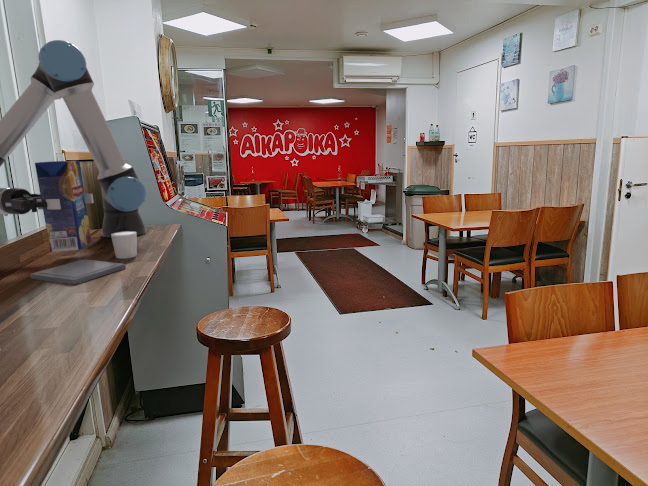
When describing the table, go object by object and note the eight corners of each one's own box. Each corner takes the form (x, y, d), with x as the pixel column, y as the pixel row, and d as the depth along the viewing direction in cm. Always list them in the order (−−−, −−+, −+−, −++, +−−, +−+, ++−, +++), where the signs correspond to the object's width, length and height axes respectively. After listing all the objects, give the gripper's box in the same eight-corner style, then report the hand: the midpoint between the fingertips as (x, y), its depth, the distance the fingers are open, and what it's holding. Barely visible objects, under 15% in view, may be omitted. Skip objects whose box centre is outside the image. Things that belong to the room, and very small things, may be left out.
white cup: (121, 260, 121) (118, 236, 119) (109, 256, 125) (106, 233, 123) (143, 255, 126) (141, 232, 125) (131, 252, 130) (129, 230, 129)
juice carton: (80, 249, 117) (66, 161, 112) (50, 252, 115) (34, 162, 110) (91, 240, 129) (79, 160, 123) (64, 242, 127) (50, 161, 121)
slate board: (84, 263, 118) (83, 259, 117) (125, 268, 112) (125, 263, 112) (30, 278, 104) (30, 273, 104) (74, 284, 99) (73, 279, 98)
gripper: (47, 208, 135) (107, 208, 130) (-27, 221, 112) (43, 222, 108) (43, 184, 133) (104, 183, 129) (-33, 192, 110) (38, 192, 106)
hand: (76, 201), depth 118 cm, fingers closed on juice carton, 11 cm apart
